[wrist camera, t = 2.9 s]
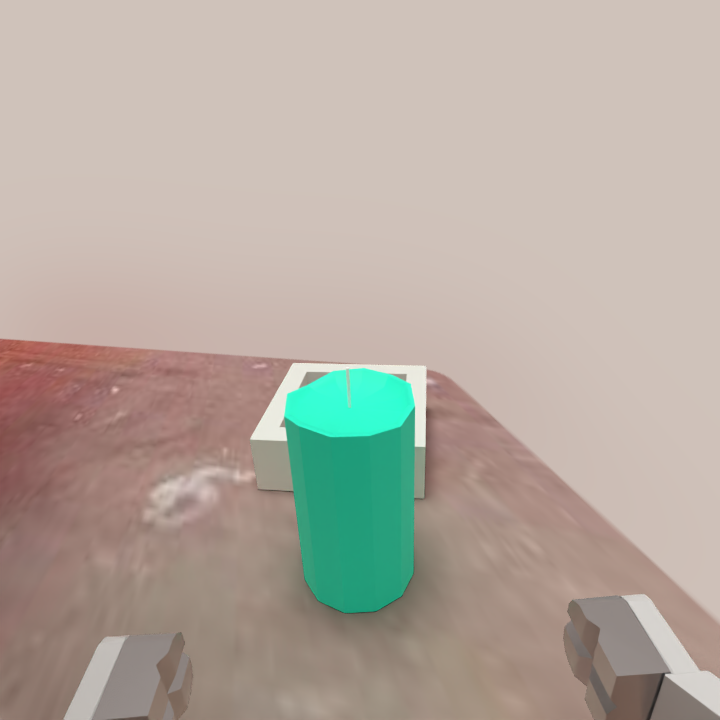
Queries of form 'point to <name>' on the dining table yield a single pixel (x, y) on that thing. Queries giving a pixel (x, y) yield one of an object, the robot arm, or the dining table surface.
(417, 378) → the frame
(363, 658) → the dining table surface
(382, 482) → the candle
